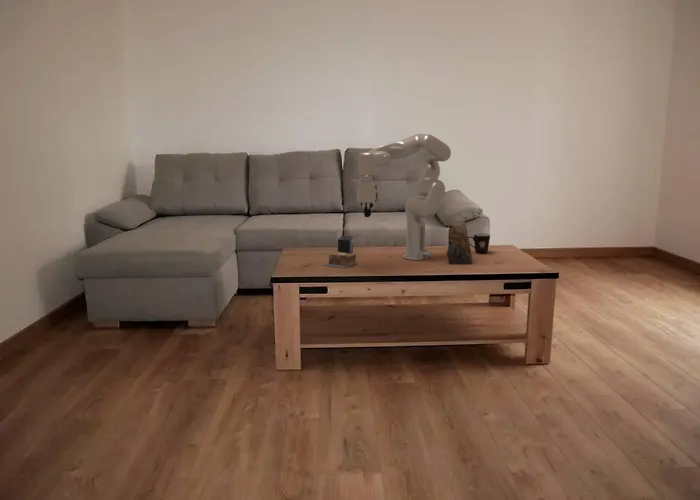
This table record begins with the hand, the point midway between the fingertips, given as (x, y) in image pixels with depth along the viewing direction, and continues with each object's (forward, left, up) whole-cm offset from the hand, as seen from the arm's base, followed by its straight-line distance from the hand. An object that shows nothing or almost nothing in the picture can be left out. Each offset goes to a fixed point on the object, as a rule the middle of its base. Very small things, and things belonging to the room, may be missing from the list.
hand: (367, 216), depth 283 cm
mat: (+15, +2, -25) cm, 29 cm away
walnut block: (+7, +2, -22) cm, 23 cm away
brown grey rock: (-36, -30, -25) cm, 54 cm away
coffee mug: (-37, -56, -25) cm, 72 cm away
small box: (+21, -13, -25) cm, 35 cm away
